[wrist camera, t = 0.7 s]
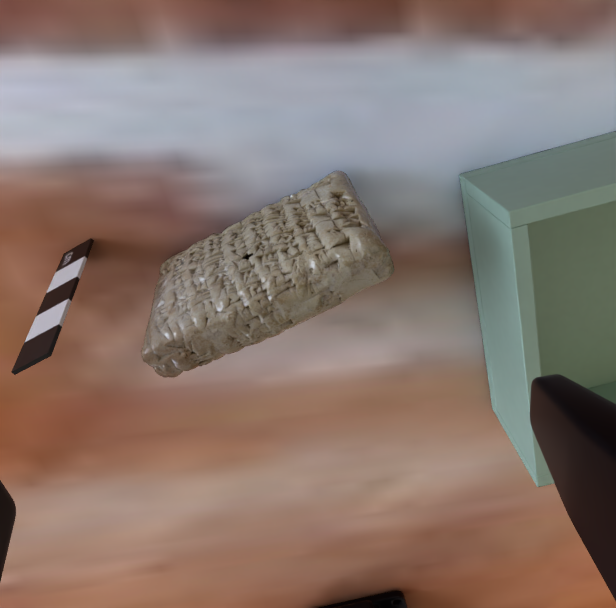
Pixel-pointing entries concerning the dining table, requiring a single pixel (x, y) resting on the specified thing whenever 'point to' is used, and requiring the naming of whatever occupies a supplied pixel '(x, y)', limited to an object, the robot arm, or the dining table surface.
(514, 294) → the bin
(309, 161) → the dining table surface
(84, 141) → the dining table surface
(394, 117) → the dining table surface
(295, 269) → the cuneiform tablet
